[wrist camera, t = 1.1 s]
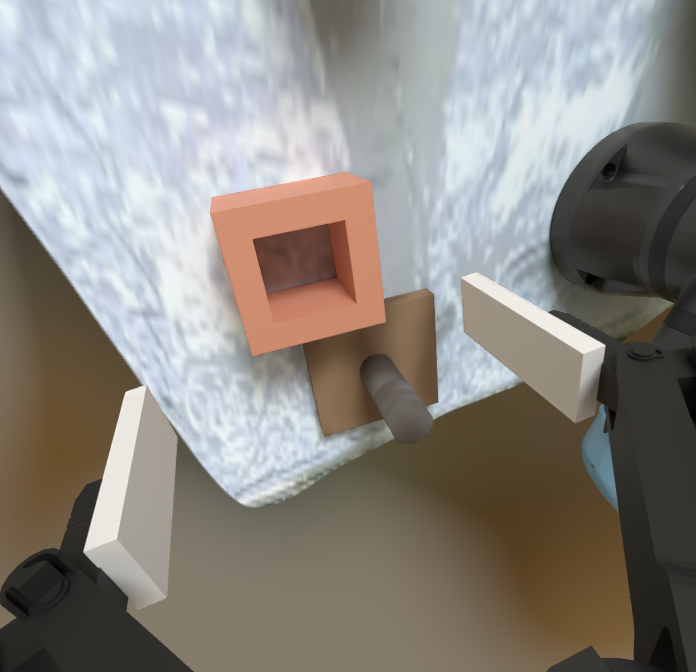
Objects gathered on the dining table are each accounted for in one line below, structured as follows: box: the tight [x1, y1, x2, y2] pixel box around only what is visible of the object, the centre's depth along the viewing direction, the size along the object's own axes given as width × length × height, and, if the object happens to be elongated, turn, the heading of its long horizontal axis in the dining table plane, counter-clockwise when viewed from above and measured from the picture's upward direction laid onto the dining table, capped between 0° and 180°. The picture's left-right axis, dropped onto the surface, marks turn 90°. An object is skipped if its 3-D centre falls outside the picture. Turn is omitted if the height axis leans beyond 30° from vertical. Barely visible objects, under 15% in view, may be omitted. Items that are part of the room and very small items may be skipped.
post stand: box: [302, 289, 438, 444], centre depth 35 cm, size 12×12×10 cm
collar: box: [210, 172, 386, 356], centre depth 30 cm, size 10×10×6 cm
